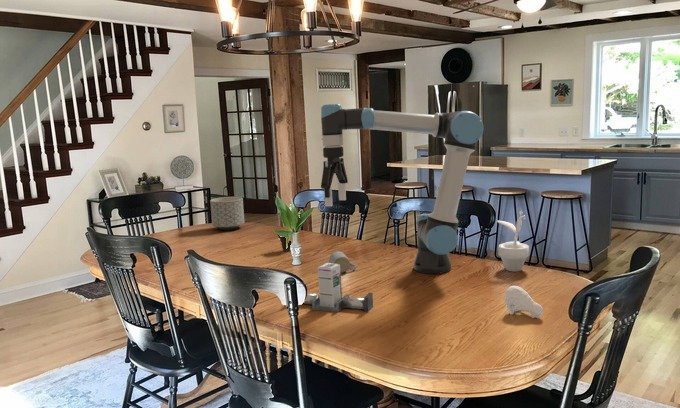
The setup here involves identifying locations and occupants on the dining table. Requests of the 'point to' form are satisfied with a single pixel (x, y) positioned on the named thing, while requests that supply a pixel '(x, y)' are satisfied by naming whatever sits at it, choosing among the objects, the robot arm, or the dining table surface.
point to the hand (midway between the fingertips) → (335, 203)
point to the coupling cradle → (342, 303)
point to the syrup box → (329, 284)
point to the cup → (283, 242)
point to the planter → (227, 212)
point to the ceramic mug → (341, 261)
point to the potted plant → (513, 248)
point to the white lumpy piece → (521, 302)
